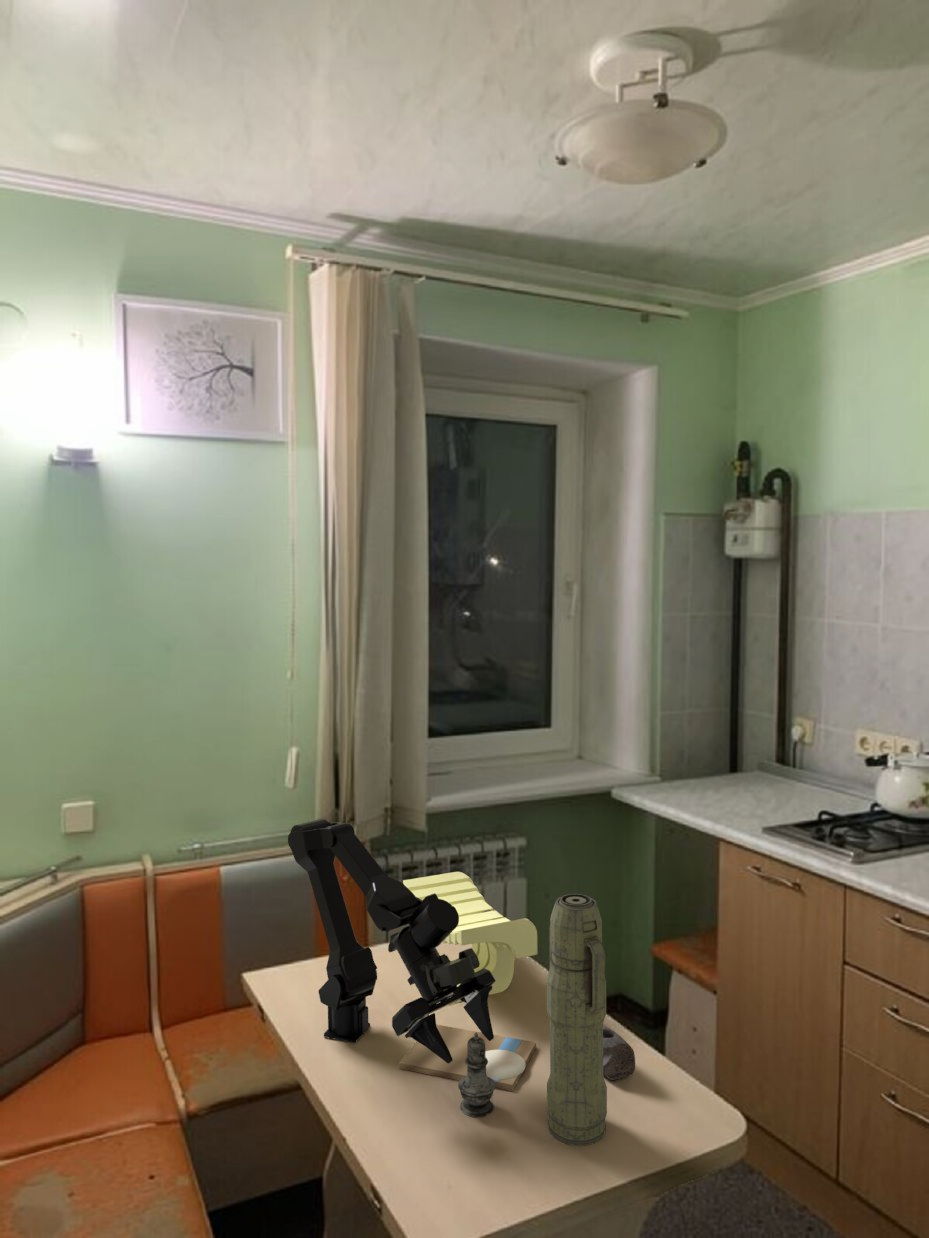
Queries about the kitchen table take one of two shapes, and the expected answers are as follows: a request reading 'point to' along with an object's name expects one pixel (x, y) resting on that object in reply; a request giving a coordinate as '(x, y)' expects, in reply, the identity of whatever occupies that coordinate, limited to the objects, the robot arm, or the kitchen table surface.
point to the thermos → (576, 1022)
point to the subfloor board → (500, 1052)
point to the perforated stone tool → (617, 1055)
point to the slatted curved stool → (480, 926)
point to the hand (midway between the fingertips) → (471, 1050)
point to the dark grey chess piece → (476, 1081)
